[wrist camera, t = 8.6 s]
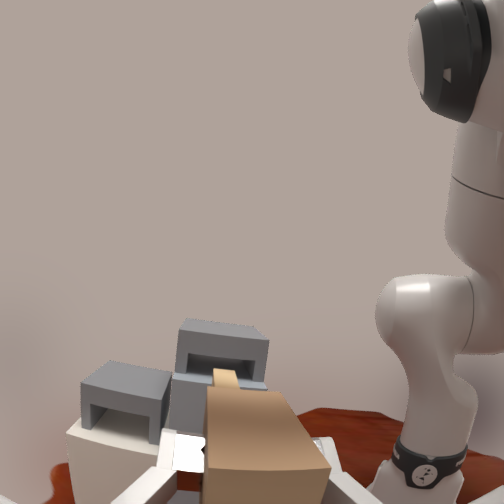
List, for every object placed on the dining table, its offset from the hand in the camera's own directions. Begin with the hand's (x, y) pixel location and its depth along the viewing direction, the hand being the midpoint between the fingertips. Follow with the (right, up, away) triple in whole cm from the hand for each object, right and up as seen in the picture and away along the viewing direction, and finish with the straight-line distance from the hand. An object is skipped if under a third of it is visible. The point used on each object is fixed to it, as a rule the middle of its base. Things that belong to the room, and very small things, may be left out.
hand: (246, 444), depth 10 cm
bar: (-1, -3, +4) cm, 5 cm away
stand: (-11, -30, +17) cm, 36 cm away
